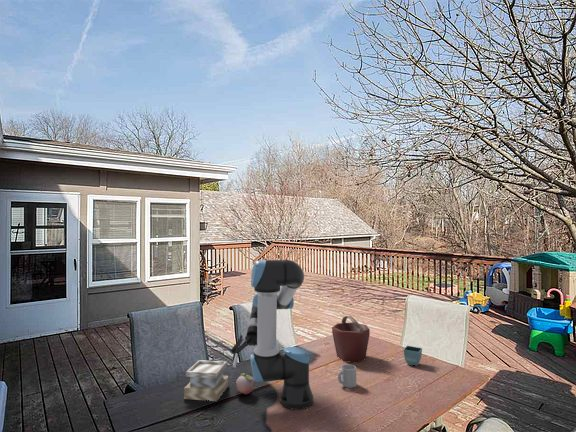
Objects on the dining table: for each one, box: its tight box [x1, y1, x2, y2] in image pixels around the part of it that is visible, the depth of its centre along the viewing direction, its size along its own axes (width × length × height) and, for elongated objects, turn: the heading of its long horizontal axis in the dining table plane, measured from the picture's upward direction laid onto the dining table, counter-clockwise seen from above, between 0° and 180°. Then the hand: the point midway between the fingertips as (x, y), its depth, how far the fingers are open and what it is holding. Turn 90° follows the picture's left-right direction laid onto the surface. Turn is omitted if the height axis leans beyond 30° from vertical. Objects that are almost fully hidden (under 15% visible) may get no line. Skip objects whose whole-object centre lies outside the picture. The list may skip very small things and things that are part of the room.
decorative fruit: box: [235, 372, 256, 396], centre depth 164 cm, size 9×8×10 cm
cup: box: [337, 363, 357, 389], centre depth 173 cm, size 7×10×9 cm
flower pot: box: [403, 345, 423, 367], centre depth 201 cm, size 9×9×9 cm
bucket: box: [331, 315, 371, 363], centre depth 213 cm, size 24×22×25 cm
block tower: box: [183, 359, 229, 402], centre depth 166 cm, size 16×16×12 cm
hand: (247, 367), depth 170 cm, fingers open, 13 cm apart
